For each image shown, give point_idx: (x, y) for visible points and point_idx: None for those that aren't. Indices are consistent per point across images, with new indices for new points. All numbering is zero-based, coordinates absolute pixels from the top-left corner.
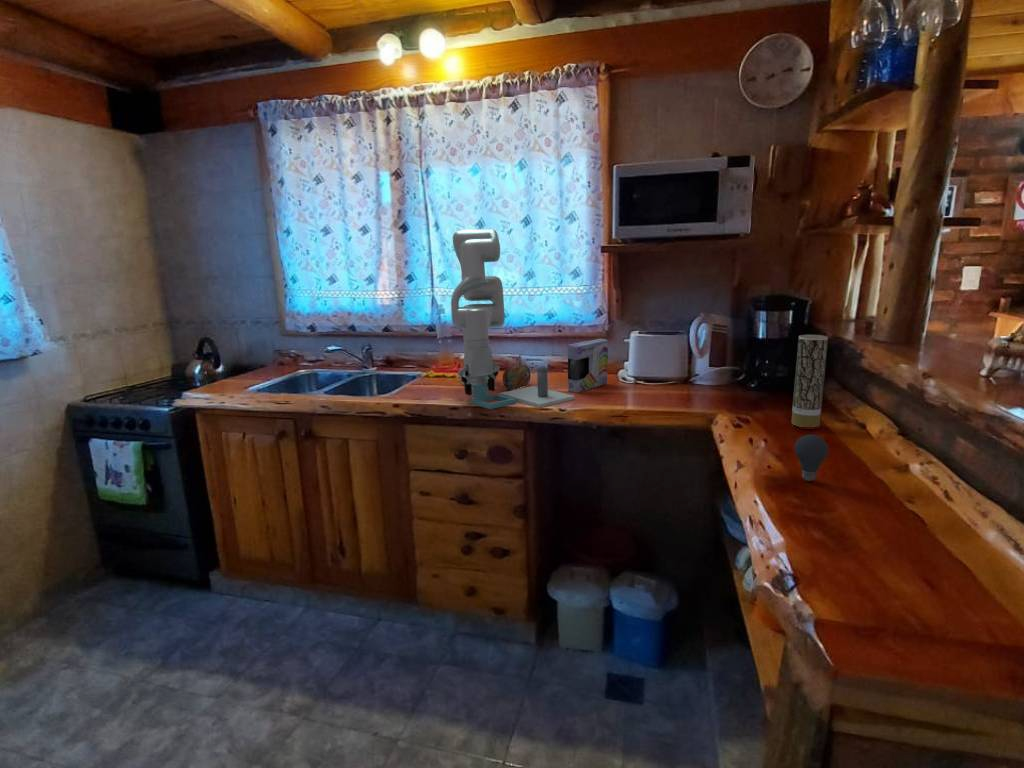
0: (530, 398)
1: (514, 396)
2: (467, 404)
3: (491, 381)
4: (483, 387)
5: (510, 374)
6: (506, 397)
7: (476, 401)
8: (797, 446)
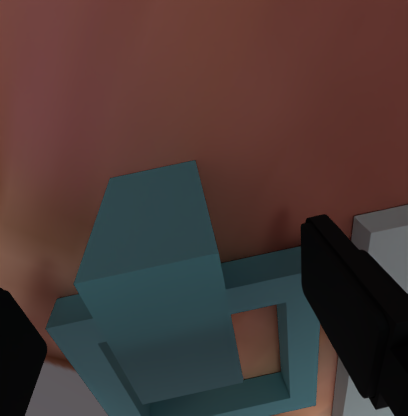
0: None
1: None
2: None
3: (356, 373)
4: (187, 384)
5: None
6: (300, 370)
7: (80, 370)
8: None
